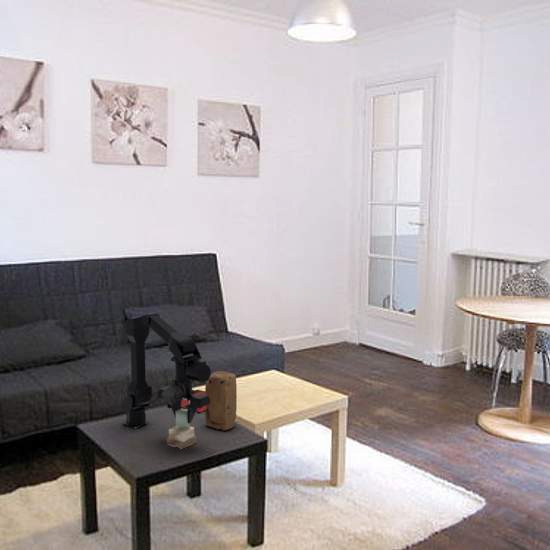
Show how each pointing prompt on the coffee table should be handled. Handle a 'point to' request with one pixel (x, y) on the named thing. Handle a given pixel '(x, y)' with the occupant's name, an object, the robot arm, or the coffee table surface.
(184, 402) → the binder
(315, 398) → the coffee table surface
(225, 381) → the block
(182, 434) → the tower top
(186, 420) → the pale green cube
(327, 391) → the coffee table surface
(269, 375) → the coffee table surface
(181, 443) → the tower base
